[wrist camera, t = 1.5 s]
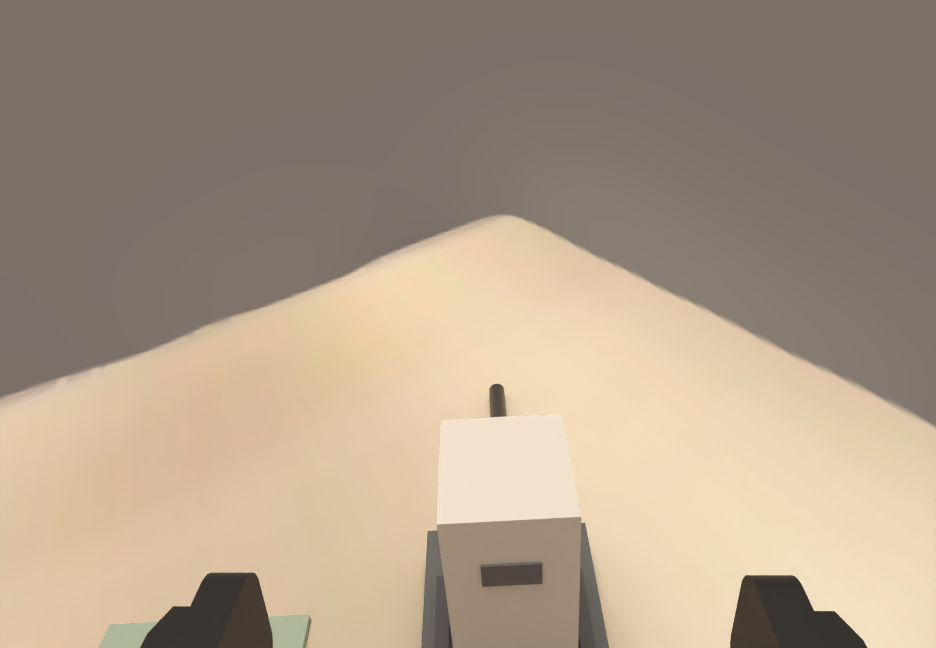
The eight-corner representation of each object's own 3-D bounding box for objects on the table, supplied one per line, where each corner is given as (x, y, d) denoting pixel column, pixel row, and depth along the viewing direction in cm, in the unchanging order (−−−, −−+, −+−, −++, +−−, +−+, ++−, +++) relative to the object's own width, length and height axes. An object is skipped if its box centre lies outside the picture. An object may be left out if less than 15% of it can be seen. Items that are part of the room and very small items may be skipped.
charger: (462, 606, 32) (440, 420, 26) (561, 601, 32) (561, 413, 26) (462, 719, 28) (436, 526, 22) (576, 714, 27) (581, 519, 22)
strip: (439, 398, 49) (435, 360, 47) (554, 392, 49) (554, 353, 47) (396, 1385, 17) (377, 1379, 15) (732, 1381, 17) (752, 1374, 15)
